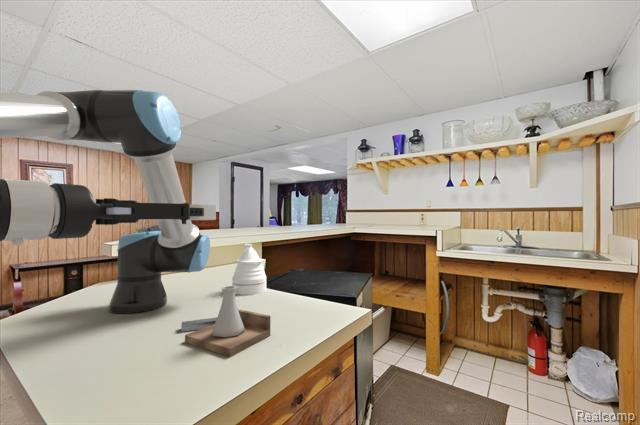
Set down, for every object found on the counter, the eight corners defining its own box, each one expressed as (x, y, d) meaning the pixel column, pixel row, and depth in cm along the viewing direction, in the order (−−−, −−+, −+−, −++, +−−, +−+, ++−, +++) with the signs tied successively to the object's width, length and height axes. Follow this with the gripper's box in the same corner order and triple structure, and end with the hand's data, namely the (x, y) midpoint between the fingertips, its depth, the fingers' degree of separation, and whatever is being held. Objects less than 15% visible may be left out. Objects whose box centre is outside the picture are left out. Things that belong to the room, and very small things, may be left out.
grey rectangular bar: (181, 330, 70) (181, 321, 70) (224, 324, 74) (224, 316, 74) (181, 333, 68) (181, 325, 68) (225, 327, 72) (225, 319, 72)
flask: (216, 326, 67) (217, 284, 68) (248, 325, 68) (248, 283, 68) (206, 339, 60) (207, 291, 60) (241, 338, 61) (242, 290, 61)
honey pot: (262, 294, 103) (262, 245, 104) (227, 294, 103) (227, 245, 104) (269, 286, 116) (269, 242, 117) (237, 286, 116) (238, 242, 117)
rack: (184, 342, 62) (185, 321, 62) (227, 324, 73) (227, 307, 73) (230, 356, 55) (230, 333, 55) (270, 335, 66) (270, 315, 66)
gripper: (16, 236, 44) (154, 230, 62) (92, 243, 31) (236, 233, 50) (17, 187, 44) (154, 196, 62) (93, 175, 32) (236, 190, 50)
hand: (191, 213), depth 56 cm, fingers open, 13 cm apart
